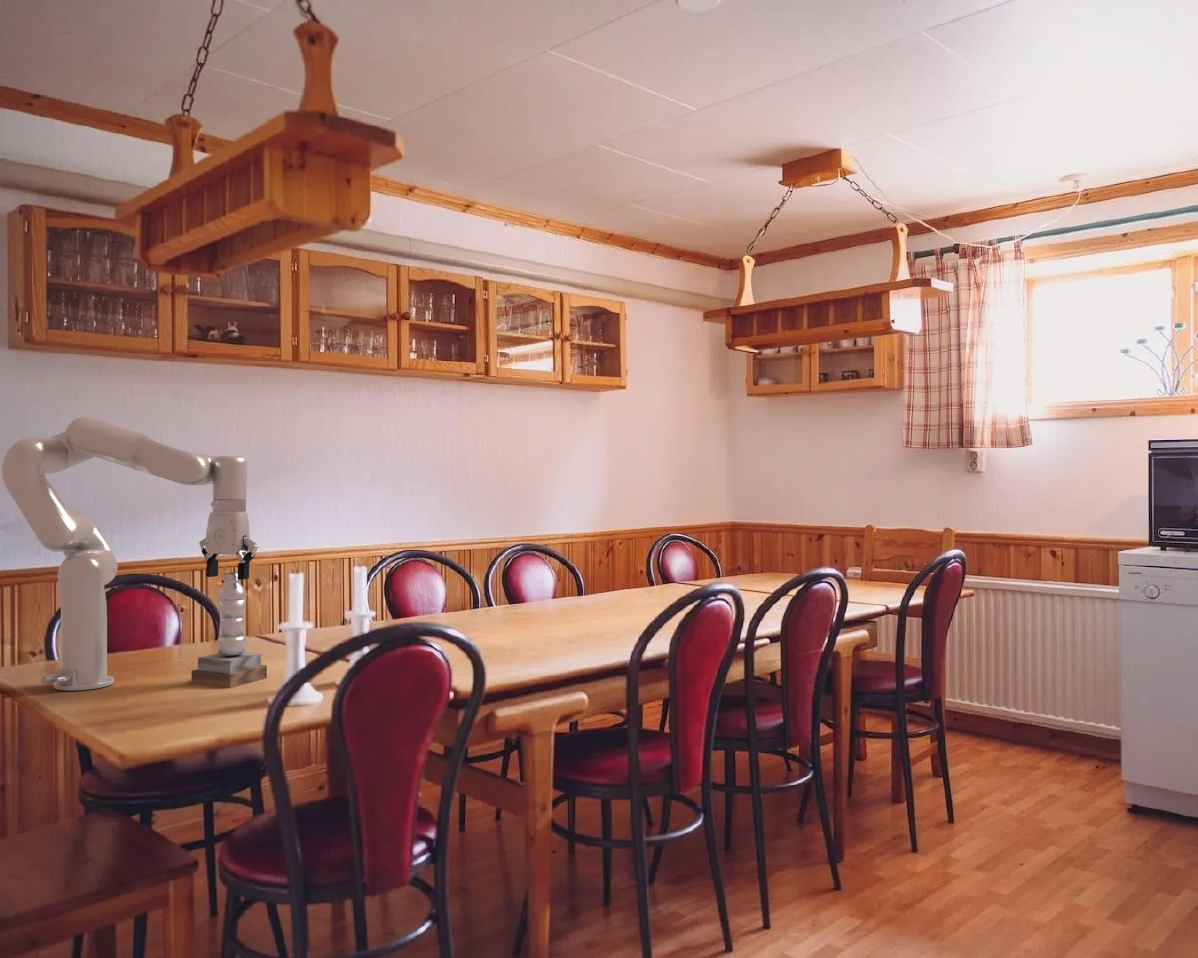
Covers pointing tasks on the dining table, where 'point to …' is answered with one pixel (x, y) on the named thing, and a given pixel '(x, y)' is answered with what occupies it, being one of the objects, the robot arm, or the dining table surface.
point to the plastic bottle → (231, 616)
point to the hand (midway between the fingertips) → (227, 577)
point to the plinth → (229, 677)
